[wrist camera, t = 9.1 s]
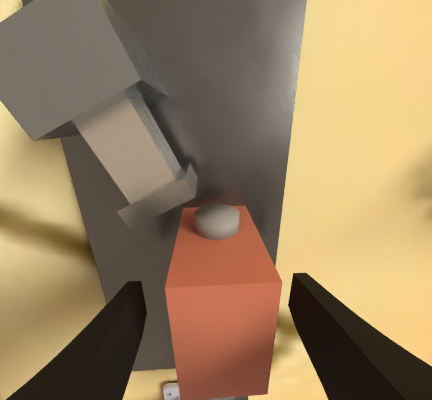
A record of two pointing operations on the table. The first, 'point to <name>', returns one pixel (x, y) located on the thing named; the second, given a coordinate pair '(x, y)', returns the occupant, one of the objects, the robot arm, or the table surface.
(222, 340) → the block
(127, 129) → the stand
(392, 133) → the table surface
